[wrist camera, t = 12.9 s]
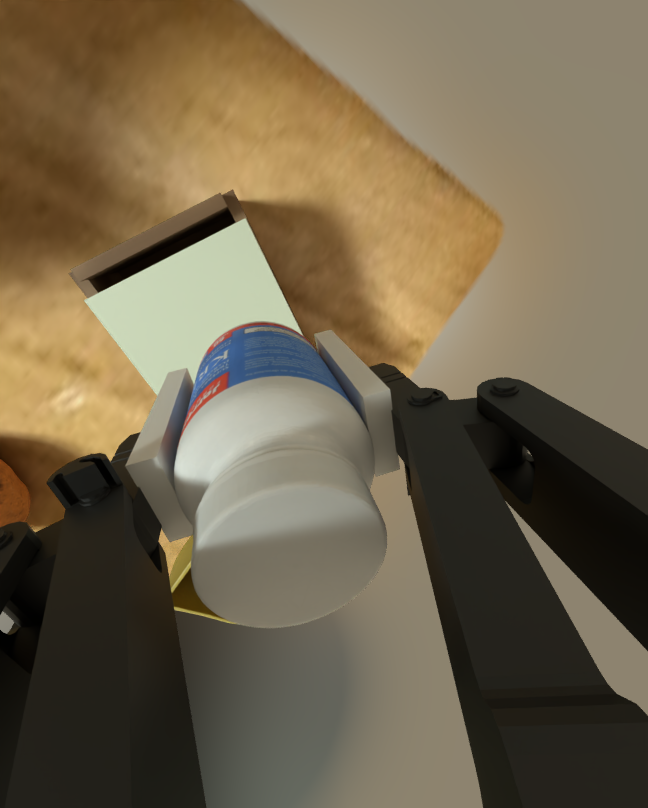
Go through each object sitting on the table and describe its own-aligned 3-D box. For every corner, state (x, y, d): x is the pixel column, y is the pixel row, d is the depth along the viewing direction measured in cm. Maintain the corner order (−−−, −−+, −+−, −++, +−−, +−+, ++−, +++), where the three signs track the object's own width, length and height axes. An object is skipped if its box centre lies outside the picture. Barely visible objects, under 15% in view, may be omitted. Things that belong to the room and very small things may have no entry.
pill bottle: (205, 305, 14) (160, 424, 5) (335, 332, 15) (463, 456, 7) (190, 428, 16) (140, 660, 7) (306, 440, 17) (378, 641, 9)
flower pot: (277, 510, 43) (285, 571, 35) (240, 558, 45) (239, 627, 37) (211, 482, 40) (203, 543, 32) (174, 536, 42) (157, 606, 34)
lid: (88, 298, 24) (66, 306, 21) (245, 218, 24) (245, 215, 21) (196, 440, 30) (191, 462, 27) (323, 377, 30) (331, 392, 27)
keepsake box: (106, 266, 29) (58, 275, 22) (235, 200, 29) (232, 186, 22) (201, 401, 36) (189, 443, 28) (307, 347, 36) (324, 376, 28)
